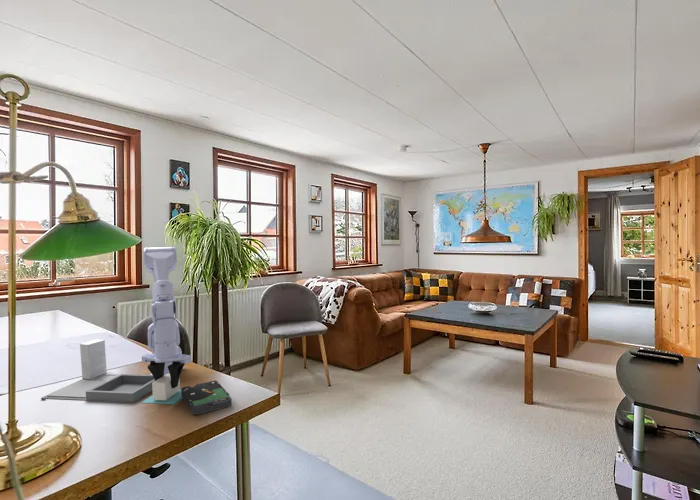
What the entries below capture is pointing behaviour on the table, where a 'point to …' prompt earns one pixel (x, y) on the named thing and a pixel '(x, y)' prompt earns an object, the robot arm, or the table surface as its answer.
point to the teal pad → (171, 400)
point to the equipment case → (107, 389)
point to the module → (164, 388)
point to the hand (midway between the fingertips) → (167, 386)
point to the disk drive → (205, 397)
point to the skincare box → (93, 358)
